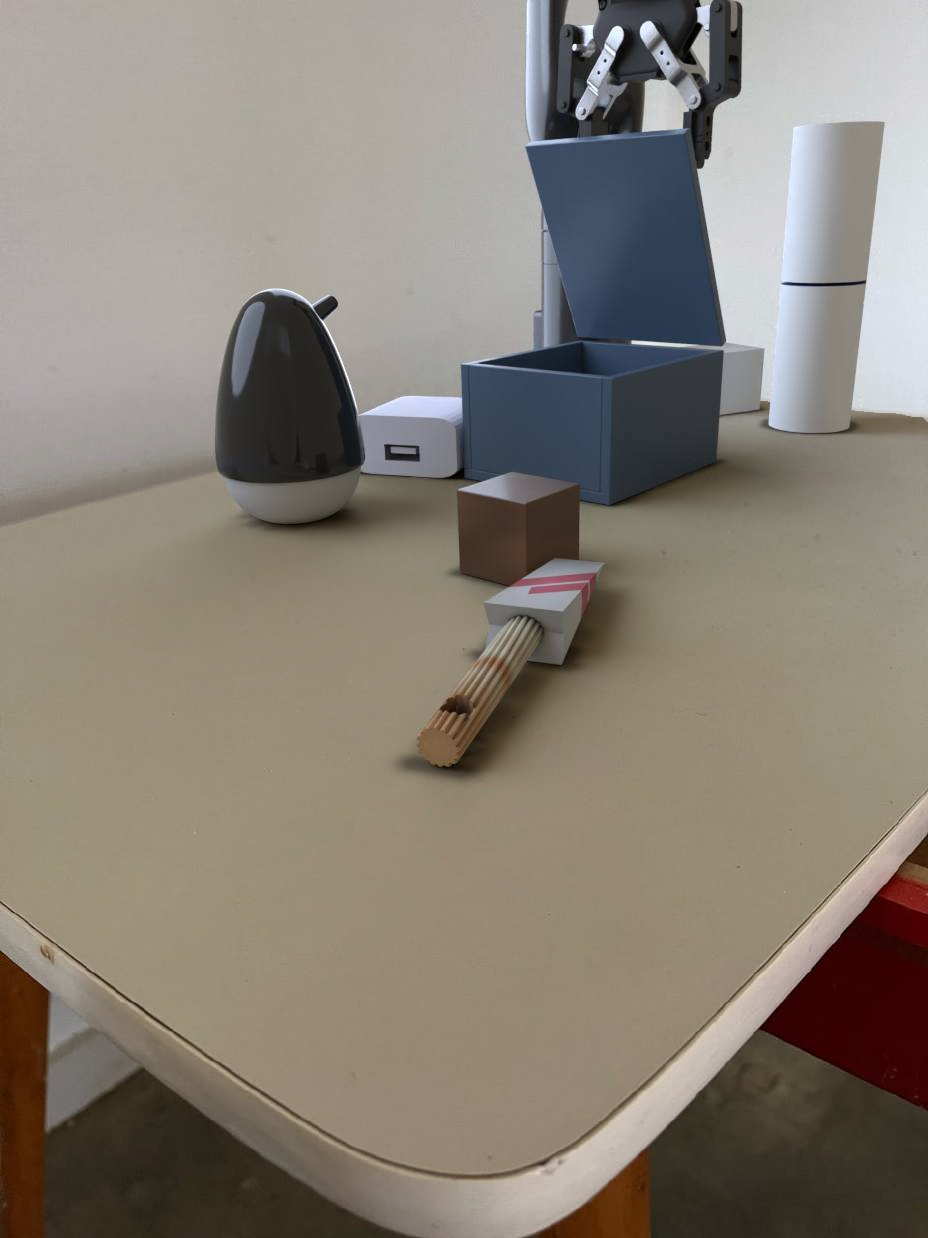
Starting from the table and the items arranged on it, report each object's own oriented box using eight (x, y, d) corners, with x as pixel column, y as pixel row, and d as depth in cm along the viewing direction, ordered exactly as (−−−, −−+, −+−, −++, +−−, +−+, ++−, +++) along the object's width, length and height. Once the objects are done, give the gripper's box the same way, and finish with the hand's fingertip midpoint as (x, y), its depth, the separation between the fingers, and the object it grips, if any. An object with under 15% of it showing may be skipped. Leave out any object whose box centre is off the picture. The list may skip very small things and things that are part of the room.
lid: (685, 132, 66) (718, 100, 68) (524, 145, 75) (558, 116, 77) (722, 346, 77) (750, 313, 79) (577, 337, 85) (606, 306, 87)
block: (459, 572, 58) (456, 489, 56) (512, 550, 61) (511, 471, 59) (526, 591, 55) (526, 503, 53) (579, 566, 58) (580, 483, 56)
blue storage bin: (609, 505, 70) (612, 378, 66) (464, 477, 78) (460, 363, 75) (716, 461, 80) (724, 349, 77) (578, 441, 89) (580, 340, 86)
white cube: (711, 416, 97) (715, 353, 95) (674, 407, 102) (677, 347, 100) (760, 409, 100) (764, 347, 97) (721, 400, 105) (724, 341, 102)
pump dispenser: (400, 507, 71) (387, 283, 65) (290, 545, 64) (265, 296, 58) (304, 487, 77) (284, 281, 71) (193, 519, 70) (161, 292, 64)
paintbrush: (615, 537, 53) (481, 724, 36) (614, 585, 54) (483, 787, 37) (546, 531, 54) (385, 708, 38) (546, 577, 55) (391, 769, 39)
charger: (515, 438, 91) (457, 479, 78) (422, 434, 94) (351, 472, 81) (514, 386, 89) (455, 418, 76) (419, 383, 92) (347, 414, 79)
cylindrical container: (756, 428, 92) (780, 126, 82) (785, 414, 97) (811, 129, 87) (834, 436, 88) (869, 119, 78) (860, 421, 93) (895, 123, 83)
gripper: (771, -96, 67) (752, 167, 73) (595, -56, 76) (592, 176, 82) (717, -119, 62) (702, 167, 68) (535, -73, 71) (536, 176, 77)
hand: (642, 171), depth 75 cm, fingers open, 8 cm apart
